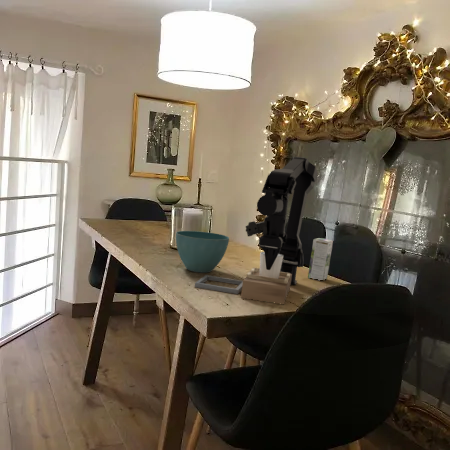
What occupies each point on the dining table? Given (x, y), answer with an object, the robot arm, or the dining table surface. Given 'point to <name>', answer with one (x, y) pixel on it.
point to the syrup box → (320, 259)
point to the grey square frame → (219, 288)
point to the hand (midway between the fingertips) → (270, 267)
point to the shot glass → (274, 269)
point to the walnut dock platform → (266, 287)
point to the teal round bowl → (201, 249)
